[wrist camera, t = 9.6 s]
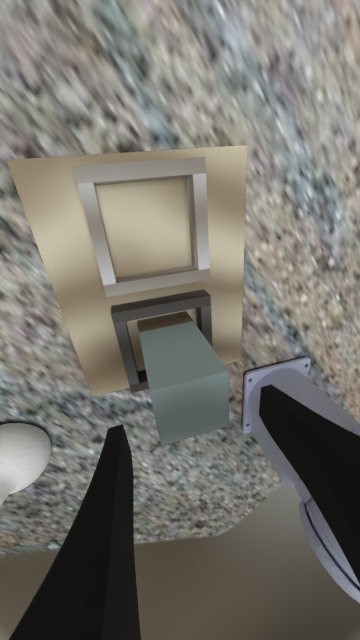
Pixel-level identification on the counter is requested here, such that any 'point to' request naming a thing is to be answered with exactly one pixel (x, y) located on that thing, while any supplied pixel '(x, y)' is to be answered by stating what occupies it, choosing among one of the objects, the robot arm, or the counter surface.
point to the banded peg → (183, 378)
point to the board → (139, 249)
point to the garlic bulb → (21, 456)
